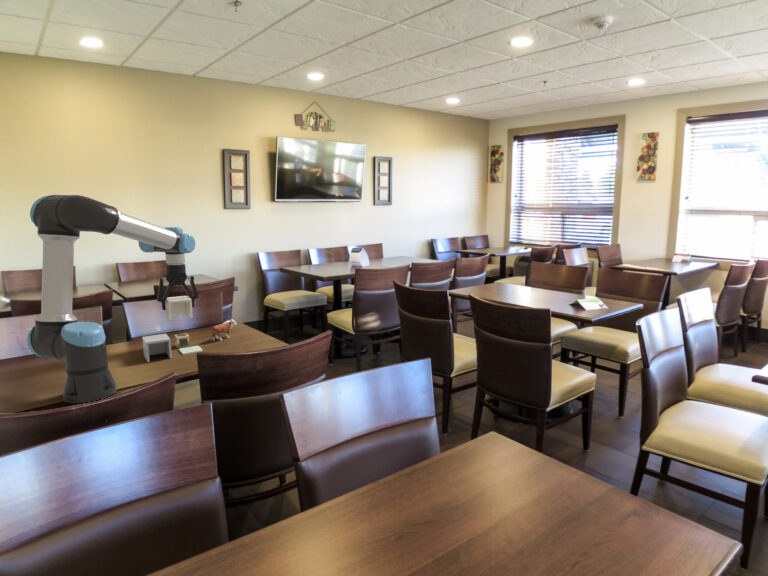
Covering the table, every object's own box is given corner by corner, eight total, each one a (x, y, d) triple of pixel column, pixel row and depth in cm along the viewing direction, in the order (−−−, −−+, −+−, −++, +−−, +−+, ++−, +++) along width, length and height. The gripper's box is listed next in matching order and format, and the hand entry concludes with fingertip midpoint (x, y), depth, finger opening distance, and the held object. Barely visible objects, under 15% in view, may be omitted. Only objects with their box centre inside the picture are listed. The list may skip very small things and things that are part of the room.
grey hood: (172, 358, 198) (170, 339, 197) (147, 362, 194) (145, 342, 192) (167, 351, 207) (165, 333, 205) (143, 355, 202) (142, 336, 200)
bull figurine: (239, 335, 230) (238, 318, 229) (215, 342, 219) (214, 325, 218) (232, 334, 233) (231, 317, 231) (209, 341, 222) (207, 323, 220)
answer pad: (203, 351, 207) (203, 350, 207) (182, 354, 202) (182, 353, 202) (198, 346, 213) (198, 345, 213) (178, 350, 209) (178, 348, 209)
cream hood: (192, 317, 211) (191, 299, 209) (170, 320, 206) (168, 301, 205) (187, 313, 219) (186, 295, 218) (165, 315, 214) (164, 297, 213)
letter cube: (190, 346, 214) (189, 335, 213) (177, 348, 211) (176, 337, 210) (187, 344, 218) (186, 332, 217) (175, 345, 215) (174, 334, 214)
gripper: (200, 261, 218) (203, 311, 221) (146, 264, 206) (150, 317, 210) (204, 263, 212) (207, 314, 215) (148, 266, 200) (152, 320, 204)
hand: (179, 316), depth 212 cm, fingers closed on cream hood, 9 cm apart
